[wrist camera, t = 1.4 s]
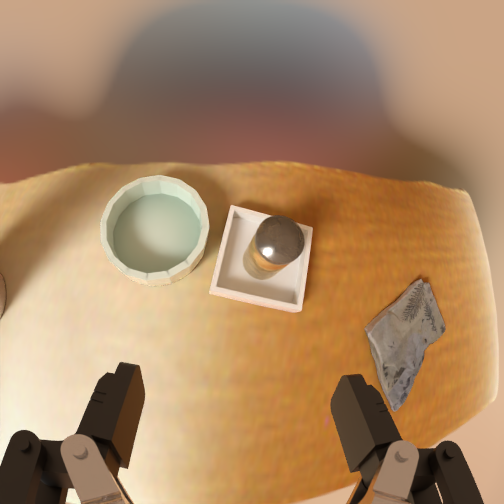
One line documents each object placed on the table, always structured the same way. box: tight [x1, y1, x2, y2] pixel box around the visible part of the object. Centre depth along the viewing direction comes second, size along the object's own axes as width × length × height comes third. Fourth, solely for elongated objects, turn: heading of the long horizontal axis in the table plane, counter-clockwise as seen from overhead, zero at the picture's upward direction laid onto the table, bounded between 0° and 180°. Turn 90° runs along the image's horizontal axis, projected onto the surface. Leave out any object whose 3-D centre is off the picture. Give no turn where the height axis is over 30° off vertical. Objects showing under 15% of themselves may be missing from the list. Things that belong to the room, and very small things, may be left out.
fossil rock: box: [364, 279, 446, 411], centre depth 37 cm, size 18×15×2 cm
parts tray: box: [209, 205, 313, 313], centre depth 36 cm, size 11×11×2 cm
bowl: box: [100, 175, 209, 286], centre depth 33 cm, size 13×13×4 cm
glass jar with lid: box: [243, 215, 305, 280], centre depth 32 cm, size 5×5×8 cm
